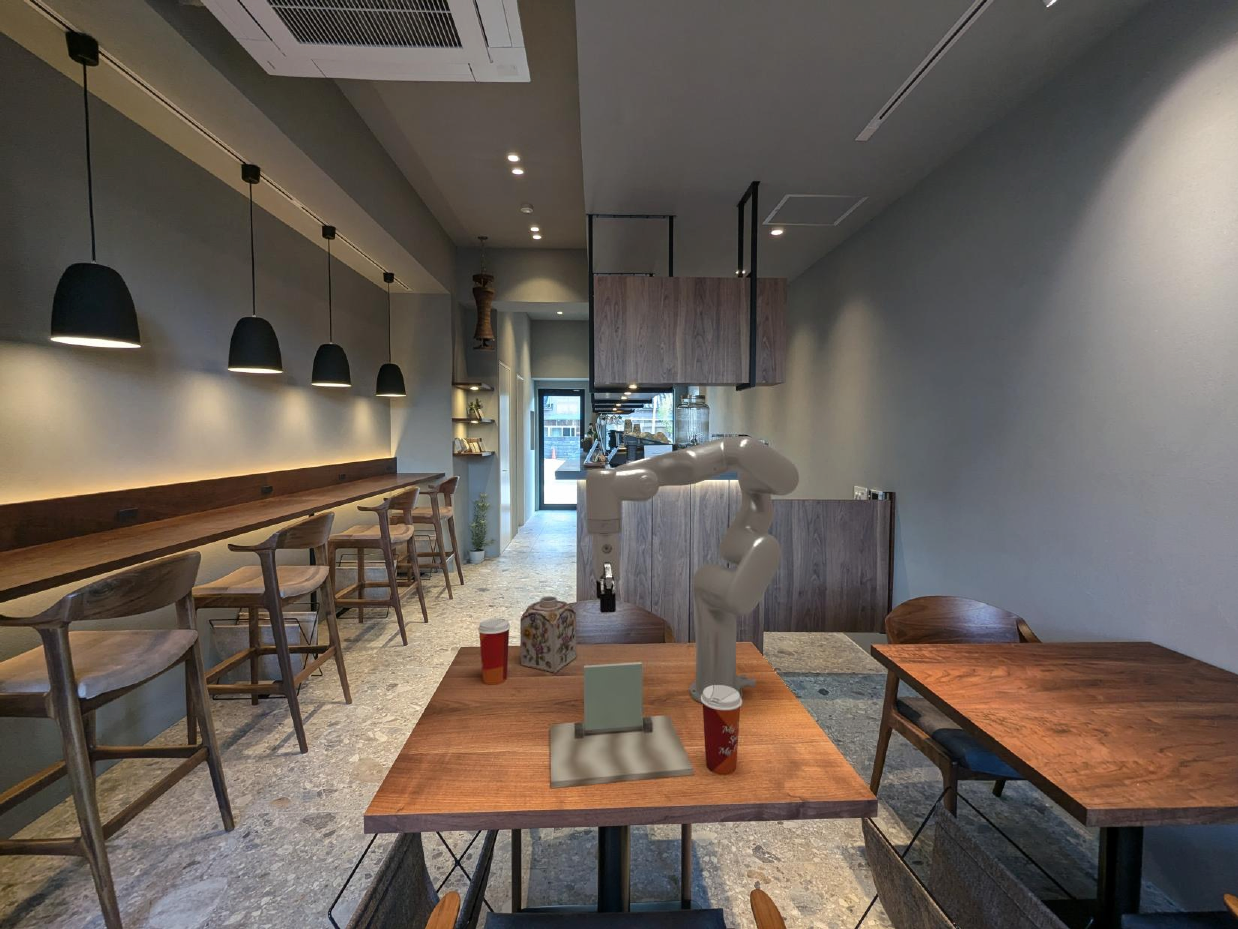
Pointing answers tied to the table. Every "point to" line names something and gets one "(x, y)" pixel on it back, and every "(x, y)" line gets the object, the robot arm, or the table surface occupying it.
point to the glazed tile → (612, 697)
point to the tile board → (616, 754)
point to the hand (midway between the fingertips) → (605, 604)
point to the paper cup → (721, 727)
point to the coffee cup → (494, 649)
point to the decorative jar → (548, 635)
